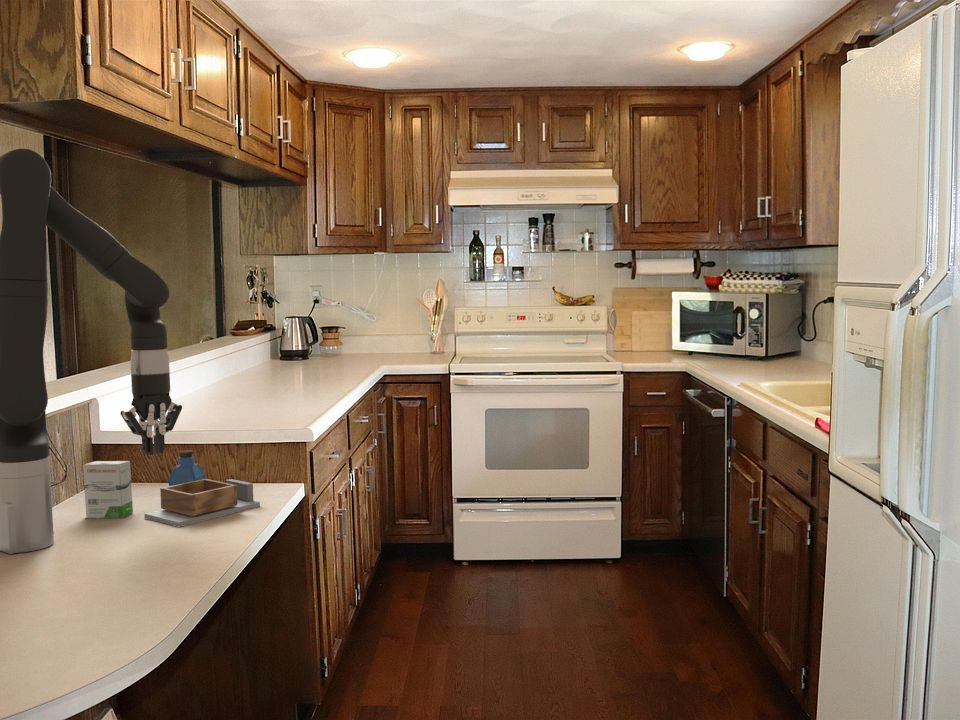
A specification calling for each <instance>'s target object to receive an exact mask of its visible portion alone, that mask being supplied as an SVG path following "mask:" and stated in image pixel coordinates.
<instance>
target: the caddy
mask: <svg viewBox="0 0 960 720" xmlns="http://www.w3.org/2000/svg"><path fill="white" fill-rule="evenodd" d="M159 489H160V510H162V509H165V510H169V511H173V512H178V513H182V514H186V515H190V516H195V515H199V514H203V513H207V512H211V511H215V510H219V509H224V508H228V507H232V506H236V505H237V485H234V484H229V483H226V482H223V481H218V480H213V479H208V478H205V479H202V480H197V481H192V482H188V483H183V484H178V485H173V486H169V485H168V486H164V487H160V488H159Z"/></svg>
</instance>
